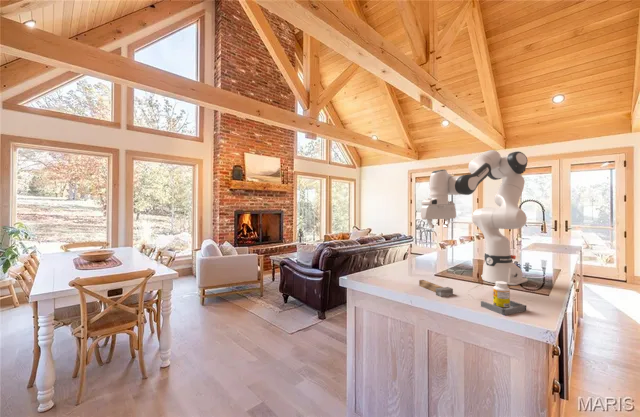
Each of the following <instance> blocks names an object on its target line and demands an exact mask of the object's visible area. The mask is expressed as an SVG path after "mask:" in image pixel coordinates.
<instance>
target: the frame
mask: <svg viewBox="0 0 640 417" xmlns="http://www.w3.org/2000/svg"><path fill="white" fill-rule="evenodd" d="M480 307H481V308H485V309H487V310H490V311H492V312H495V313H497V314H500V315H503V316H507V315H508V316H509V315H512V314H513V315H514V314H517V313H522V312H526V311H527V304H523V303H520V302H517V301H514V300H511V299H510V308H505V309H503V308H501V307H498V306H495V305H493V304H492V303H489V302H487V301H484V300H481V301H480Z"/></svg>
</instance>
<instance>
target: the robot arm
mask: <svg viewBox="0 0 640 417" xmlns="http://www.w3.org/2000/svg"><path fill="white" fill-rule="evenodd" d="M527 165H528V158H527V156H526V154H525V153H523V152H522V151H513V152H510V153H509V154H507V155H503V156H501V154H500V153H499V152H498V151H497V150H495V149H494V150H493V149H491V150H487V151H484V152H481V153H480V154H478V155H476V156H474V158H473V159H471V160H470V161H469V163H468V165H467V166H468V171H469V173H470V174H469V173H468V174H463V175H454V176H453V175H451V174H450V173H449V172H448V171H447V169H439V170H433V171H432V172H431V173H430V177H429V189H430V192H429V197H427V198H424V199H423V200H421V205H422V206H421V207H420V218H421V219H422V220H426V222H427V224H428V226H429V229H435V224H433V220H444V222H445V223H443V228H444V229H445V228H449V224H450V222H451V220H452V219H456V217H457V211H456V205H455V203H454V201H452V200H449V196H456V195H457V196H458V195H464V196H469V195H472V194H474V193H475V191H476V190H477V189H478V186H479V185H480V184H481V183H482V182H483V181H484V180H485V179H486V178H489V179H491V180H494V181H497V180H501V183H500V185H499V186H498V189H497V191H496V192H495V195H494V203H495V205H497V206H498V207H482V208H481V207H479V208H477V209H475V210H474V211H473V213H472V215H471V221H472V222H473V224H474V225H475V226H476V227H477V228H479V230H480V232H481V234H482V235H483V237H484V245H485V247H484V248H485V253H484V256H483V257H484V262H483V266H482V274H481V275H480V277H481V279H482V280H483V281H485V282H488V283H492V284H496V281H503V282H506V283H507V286H508V285H509V286H517V285H520V284H524V283H527V282H528V280H529V279H528V278H526V277H524V276H523V271H522V269H521V268H520V267H519V266H518V265H516V264H515V263H514V262H513V260H516V259H517V257H516V255H514V254H511V242H510V240H509V238H508V237H506V236H505V235H503V234H502V233H501V232H500V230H499V229H501V230H516V229H518V230H519V229H521V228H523V227H524V226H525V225H526V224H527V221H528V220H527V214H526V212H524V211H523V210H522V209H521V208H520V207H519V201H520V198H521V196H522V194H523V191H524V186H525V178H524V176H522V174H523V173H525V172H526V167H527Z"/></svg>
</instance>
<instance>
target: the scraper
mask: <svg viewBox="0 0 640 417" xmlns="http://www.w3.org/2000/svg"><path fill="white" fill-rule="evenodd" d="M418 286H419V287H421V288H423V289H425V290H429V291H431V292H433V293H435V295H436V297H437V296H438V297H439V298H443V297H449V295H450V296H454V289H453V288H452V287H449V286H441V285H438V284H436V283H433V282H431V281H428V280H424V279H420V280H418Z"/></svg>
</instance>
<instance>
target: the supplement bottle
mask: <svg viewBox="0 0 640 417" xmlns="http://www.w3.org/2000/svg"><path fill="white" fill-rule="evenodd" d="M494 284H495V285H494V286H493V289H492V290H493V293H492V295H493V299H492V301H493V302H492V303H493V304H492V305H495V306H498V307H501V308H503V309H505V308H510V307H511V306H510V300H511V292H510V291H511V289H510V287H508V284H507V283H506V282H503V281H496V283H494Z"/></svg>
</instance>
